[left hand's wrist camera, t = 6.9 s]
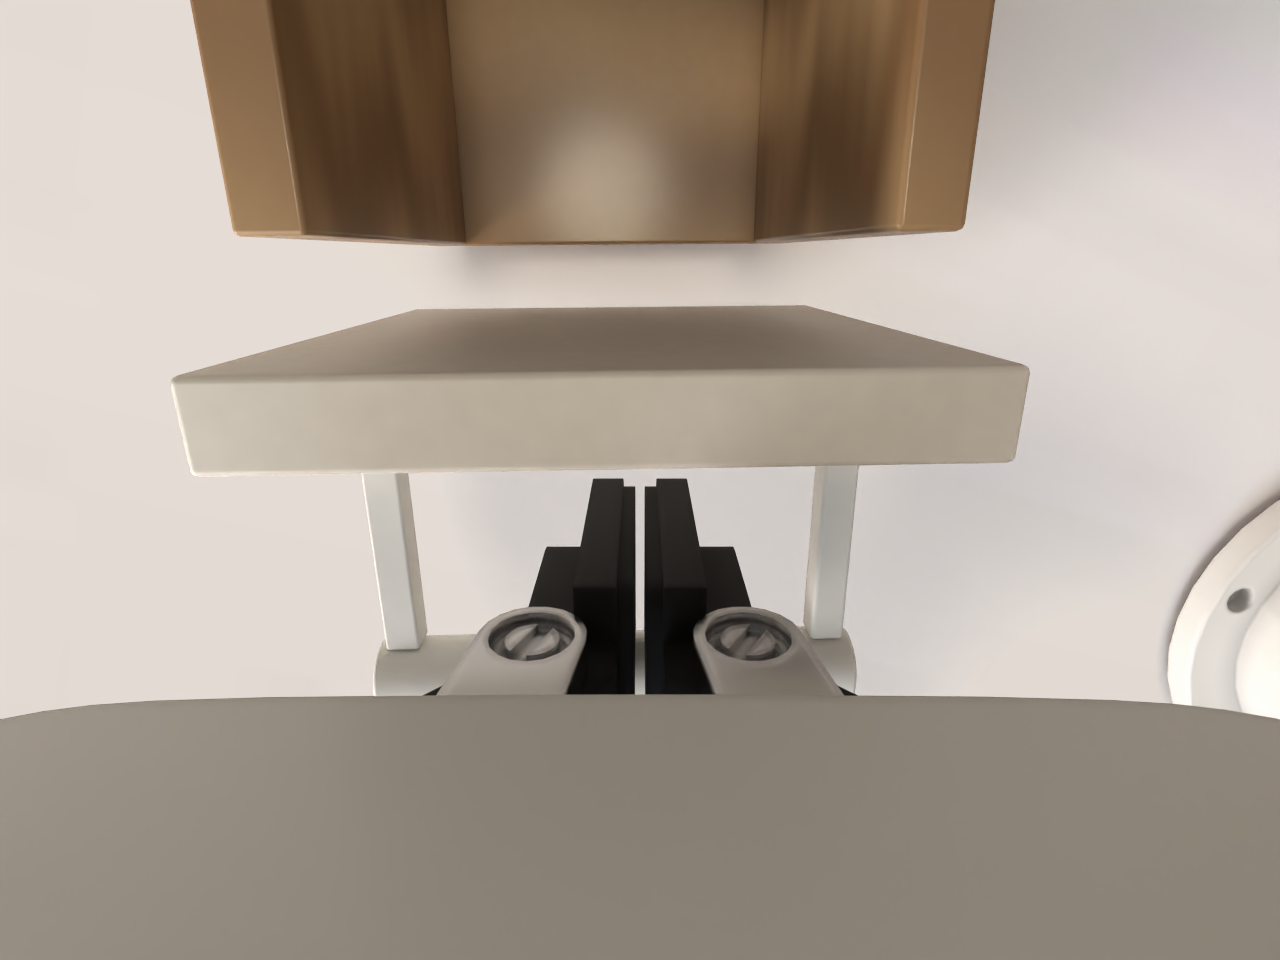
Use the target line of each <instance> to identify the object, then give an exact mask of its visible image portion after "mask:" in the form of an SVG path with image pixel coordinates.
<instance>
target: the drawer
mask: <svg viewBox="0 0 1280 960" xmlns="http://www.w3.org/2000/svg"><path fill="white" fill-rule="evenodd" d="M190 2H191V7H192V13H193V18H194V23H195V29H196V34H197V40H198V45H199V50H200V56H201V61H202V66H203V72H204V77H205V82H206V88H207V93H208V99H209V104H210V109H211V115H212V120H213V125H214V131H215V136H216V141H217V147H218V152H219V158H220V163H221V168H222V174H223V179H224V184H225V190H226V195H227V201H228V206H229V211H230V217H231V222H232V227H233V231H234V233H235V234H236V235H238V236H243V237H264V238H285V239H306V240H327V241H348V242H369V243H390V244H411V245H432V246H503V245H630V244H758V243H790V242H805V241H819V240H834V239H849V238H863V237H878V236H893V235H907V234H922V233H936V232H951V231H957V230H960V229H962V228H963V226H964V224H965V218H966V210H967V203H968V196H969V188H970V181H971V173H972V166H973V159H974V151H975V144H976V136H977V129H978V122H979V114H980V107H981V99H982V92H983V85H984V77H985V70H986V62H987V55H988V48H989V40H990V33H991V25H992V18H993V11H994V3H995V0H190ZM1029 374H1030V373H1029V368H1028V367H1027V366H1025V365H1022V364H1019V363H1016V362H1012V361H1008V360H1004V359H1001V358H997V357H993V356H990V355H986V354H982V353H979V352H975V351H971V350H968V349H964V348H960V347H957V346H953V345H949V344H945V343H942V342H938V341H934V340H931V339H927V338H923V337H920V336H916V335H912V334H909V333H905V332H901V331H898V330H894V329H890V328H886V327H883V326H879V325H875V324H872V323H868V322H864V321H861V320H857V319H853V318H850V317H846V316H842V315H839V314H835V313H831V312H827V311H824V310H820V309H816V308H813V307H809V306H805V305H795V306H700V307H604V308H509V309H417V310H413V311H410V312H406V313H402V314H399V315H395V316H392V317H388V318H384V319H381V320H377V321H373V322H370V323H366V324H363V325H359V326H355V327H352V328H348V329H344V330H341V331H337V332H334V333H330V334H326V335H323V336H319V337H315V338H312V339H308V340H305V341H301V342H297V343H294V344H290V345H287V346H283V347H279V348H276V349H272V350H268V351H265V352H261V353H258V354H254V355H250V356H247V357H243V358H239V359H236V360H232V361H229V362H225V363H221V364H218V365H214V366H210V367H207V368H203V369H200V370H196V371H192V372H189V373H185V374H181V375H178V376H176V377H174V378H173V379H172V380H171V389H172V393H173V398H174V402H175V407H176V411H177V415H178V420H179V424H180V428H181V433H182V437H183V441H184V446H185V450H186V454H187V459H188V463H189V468H190V471H191V473H192V474H193V475H195V476H201V477H208V476H266V475H324V474H362V480H363V487H364V494H365V501H366V508H367V515H368V522H369V529H370V535H371V542H372V549H373V556H374V563H375V570H376V577H377V584H378V590H379V597H380V604H381V611H382V618H383V625H384V632H385V640H384V641H383V643H382V644H381V646H380V648H379V651H378V654H377V658H376V662H375V667H374V675H373V692H374V696H422V695H424V694H426V693H428V692H430V691H432V690H434V689H436V688H438V687H440V686H442V685H443V684H444V683H445V681H446V680H447V678H448V677H449V675H450V674H451V672H452V671H453V669H454V668H455V666H456V665H457V663H458V662H459V660H460V659H461V657H462V656H463V654H464V653H465V651H466V650H467V648H468V647H469V645H470V644H471V642H472V641H473V639H474V638H475V636H476V635H477V634H470V635H429V636H426V634H427V624H426V616H425V608H424V600H423V592H422V583H421V575H420V567H419V559H418V551H417V543H416V534H415V526H414V518H413V510H412V502H411V494H410V485H409V477H408V473H439V472H497V471H555V470H612V469H670V468H728V467H785V466H815V479H814V491H813V504H812V517H811V530H810V543H809V556H808V568H807V581H806V594H805V607H804V620H803V623H804V625H805V626H801V627H798V629H799V630H800V631H801V632H802V633H803V635H804V636H805V638H806V639H807V641H808V642H809V644H810V645H811V647H812V648H813V650H814V651H815V653H816V654H817V656H818V657H819V659H820V660H821V662H822V663H823V665H824V666H825V668H826V669H827V671H828V672H829V674H830V675H831V677H832V678H833V680H834V681H835V683H836V684H837V685H838V686H840V687H842V688H844V689H846V690H848V691H850V692H852V693H855V688H856V676H857V674H856V660H855V654H854V649H853V646H852V643H851V640H850V637H849V635H848V633H847V631H846V630H845V629H844V628H843V619H844V609H845V599H846V589H847V579H848V569H849V559H850V549H851V538H852V528H853V518H854V508H855V498H856V488H857V478H858V468H859V465H901V464H959V463H1006V462H1010V461H1013V459H1014V458H1015V454H1016V449H1017V443H1018V437H1019V432H1020V426H1021V420H1022V414H1023V409H1024V403H1025V397H1026V392H1027V386H1028V380H1029ZM635 694H645V640H644V630H636V639H635Z"/></svg>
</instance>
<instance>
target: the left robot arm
mask: <svg viewBox="0 0 1280 960" xmlns="http://www.w3.org/2000/svg"><path fill="white" fill-rule="evenodd" d="M635 639H636V593H635V487H624V481H623V479H593V483H592V488H591V493H590V499H589V504H588V509H587V515H586V520H585V525H584V531H583V536H582V541H581V547H547V548H546V550H545V553H544V556H543V560H542V563H541V567H540V570H539V573H538V577H537V580H536V584H535V587H534V590H533V594H532V597H531V601H530V604H529V607H527V608H521V609H515V610H512V611H509V612H506V613H504V614H501V615H499V616H497V617H495V618H494V619H492V620H490V621H489V622H487V623H486V624H485V625H484V626H483V627H482V629H481V630H480V631H479V632H478V633H477V635H476V636H475V638H474V639H473V641H472V642H471V644H470V645H469V647H468V648H467V650H466V651H465V653H464V654H463V656H462V657H461V659H460V660H459V662H458V663H457V665H456V666H455V668H454V669H453V671H452V672H451V674H450V675H449V677H448V678H447V680H446V681H445V683H444V684H443V685H442V686H440V687H438V688H436V689H434V690H432V691H430V692H428V693H426V694H424V695H422V696H342V697H261V698H228V699H195V700H162V701H144V702H129V703H115V704H100V705H88V706H81V707H73V708H65V709H57V710H50V711H42V712H37V713H32V714H26V715H21V716H16V717H10V718H5V719H0V960H1280V500H1278V501H1277V502H1275V503H1274V504H1272V505H1271V506H1270V507H1268V508H1267V509H1266V510H1265V511H1263V512H1262V513H1261V514H1260V515H1258V516H1257V517H1256V518H1255V519H1253V520H1252V521H1251V522H1249V523H1248V524H1247V525H1246V526H1244V527H1243V528H1242V529H1241V530H1240V531H1239V532H1238V533H1237V534H1236V535H1235V536H1234V537H1233V538H1232V539H1231V540H1230V541H1229V542H1228V543H1227V544H1226V545H1225V546H1224V548H1223V549H1222V550H1221V551H1220V552H1219V553H1218V554H1217V555H1216V556H1215V557H1214V558H1213V560H1212V561H1211V562H1210V564H1209V565H1208V567H1207V568H1206V569H1205V571H1204V572H1203V574H1202V575H1201V576H1200V578H1199V579H1198V581H1197V582H1196V583H1195V585H1194V586H1193V588H1192V590H1191V592H1190V594H1189V596H1188V598H1187V600H1186V602H1185V604H1184V606H1183V608H1182V610H1181V612H1180V614H1179V616H1178V618H1177V621H1176V625H1175V629H1174V632H1173V636H1172V639H1171V643H1170V647H1169V655H1168V674H1167V678H1168V683H1169V688H1170V693H1171V698H1172V702H1173V704H1167V703H1151V702H1134V701H1118V700H1088V699H1050V698H1012V697H950V696H858V695H856V694H854V693H852V692H850V691H848V690H846V689H844V688H842V687H840V686H838V685H837V684H836V683H835V681H834V680H833V678H832V677H831V675H830V674H829V672H828V671H827V669H826V668H825V666H824V665H823V663H822V662H821V660H820V659H819V657H818V656H817V654H816V653H815V651H814V650H813V648H812V647H811V645H810V644H809V642H808V641H807V639H806V638H805V636H804V635H803V633H802V632H801V631H800V630H799V629H798V627H797V626H796V625H795V624H794V623H793V622H791V621H790V620H788V619H786V618H785V617H783V616H781V615H779V614H776V613H774V612H771V611H768V610H765V609H759V608H753V607H751V604H750V601H749V597H748V594H747V590H746V587H745V584H744V580H743V577H742V573H741V570H740V567H739V563H738V560H737V556H736V553H735V550H734V548H733V547H699V541H698V536H697V531H696V525H695V520H694V515H693V509H692V504H691V499H690V493H689V488H688V483H687V479H657V481H656V487H645V588H644V640H645V694H635Z"/></svg>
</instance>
